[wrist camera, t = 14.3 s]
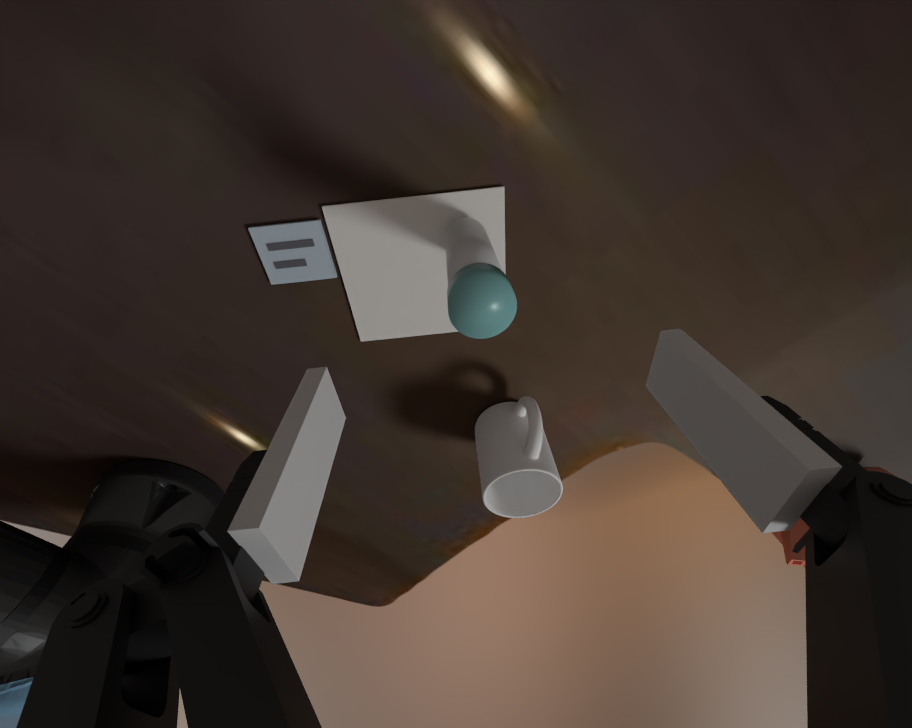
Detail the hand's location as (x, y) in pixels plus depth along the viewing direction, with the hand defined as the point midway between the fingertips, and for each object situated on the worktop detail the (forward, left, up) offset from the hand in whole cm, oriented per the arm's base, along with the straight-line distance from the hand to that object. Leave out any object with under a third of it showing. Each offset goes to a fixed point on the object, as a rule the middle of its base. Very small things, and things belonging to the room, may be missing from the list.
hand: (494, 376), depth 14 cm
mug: (+4, -22, -21) cm, 31 cm away
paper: (-4, -3, -21) cm, 21 cm away
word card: (-15, 0, -21) cm, 25 cm away
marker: (0, 0, -20) cm, 20 cm away
